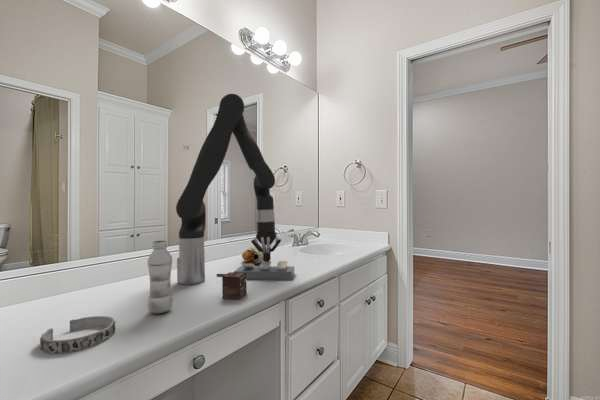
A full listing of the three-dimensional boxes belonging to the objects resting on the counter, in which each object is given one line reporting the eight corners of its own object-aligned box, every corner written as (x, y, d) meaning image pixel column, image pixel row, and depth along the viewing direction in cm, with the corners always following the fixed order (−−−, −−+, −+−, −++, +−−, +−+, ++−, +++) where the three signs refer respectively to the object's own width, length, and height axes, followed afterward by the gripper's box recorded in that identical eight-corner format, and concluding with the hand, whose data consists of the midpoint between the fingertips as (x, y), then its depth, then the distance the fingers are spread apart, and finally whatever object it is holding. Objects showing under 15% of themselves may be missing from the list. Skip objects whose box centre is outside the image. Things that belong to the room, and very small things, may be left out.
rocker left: (241, 267, 115) (241, 263, 116) (245, 268, 121) (246, 263, 121) (250, 267, 115) (250, 263, 115) (254, 268, 121) (254, 263, 121)
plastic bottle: (166, 306, 86) (165, 239, 86) (177, 311, 82) (176, 241, 82) (143, 312, 81) (142, 241, 81) (154, 318, 77) (153, 243, 77)
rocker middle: (259, 270, 115) (258, 266, 115) (262, 265, 121) (262, 260, 121) (268, 270, 115) (267, 266, 114) (270, 265, 120) (270, 260, 120)
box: (239, 300, 90) (239, 276, 90) (221, 299, 92) (221, 276, 92) (247, 293, 96) (246, 272, 96) (230, 293, 98) (229, 271, 98)
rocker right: (276, 271, 114) (276, 267, 114) (278, 264, 120) (278, 260, 120) (285, 271, 114) (285, 267, 114) (287, 264, 120) (287, 260, 119)
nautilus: (253, 271, 130) (226, 269, 136) (275, 258, 149) (251, 258, 155) (251, 253, 129) (224, 253, 135) (274, 243, 149) (249, 243, 155)
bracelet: (35, 363, 57) (35, 348, 57) (44, 337, 68) (44, 324, 68) (117, 342, 65) (117, 329, 65) (113, 322, 76) (113, 310, 76)
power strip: (212, 279, 115) (212, 271, 115) (220, 273, 124) (220, 265, 124) (291, 280, 112) (291, 271, 112) (294, 274, 121) (294, 266, 121)
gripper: (247, 221, 117) (249, 264, 117) (279, 220, 116) (281, 263, 116) (252, 219, 125) (253, 259, 125) (282, 219, 123) (284, 259, 124)
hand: (267, 261), depth 121 cm, fingers closed
